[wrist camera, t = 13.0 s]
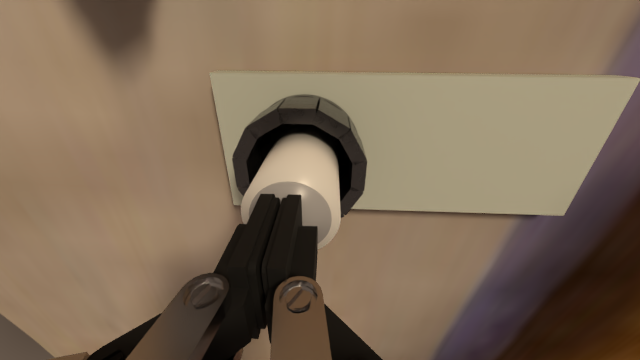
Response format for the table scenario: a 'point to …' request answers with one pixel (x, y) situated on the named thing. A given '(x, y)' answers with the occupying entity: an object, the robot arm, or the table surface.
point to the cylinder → (302, 178)
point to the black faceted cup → (303, 111)
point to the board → (449, 133)
